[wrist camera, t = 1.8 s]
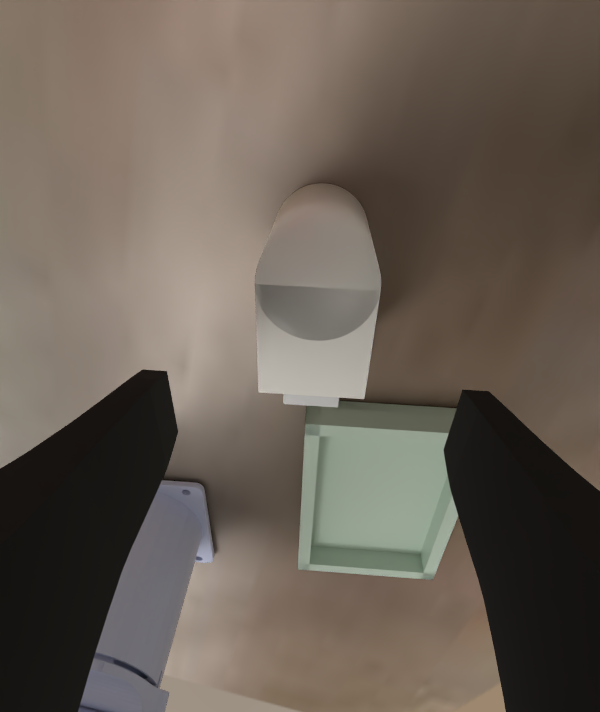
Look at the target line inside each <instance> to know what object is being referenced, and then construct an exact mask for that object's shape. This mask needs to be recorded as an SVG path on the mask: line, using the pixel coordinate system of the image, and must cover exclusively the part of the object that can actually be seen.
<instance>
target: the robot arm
mask: <svg viewBox="0 0 600 712" xmlns="http://www.w3.org/2000/svg"><path fill="white" fill-rule="evenodd" d="M177 434H178V429H177V424H176V418H175V413H174V407H173V402H172V397H171V391H170V386H169V381H168V375H167V371H155V370H141V371H140V372H139V373H137V374H136V375H134V376H133V377H131V378H130V379H129V380H127V381H126V382H125V383H123V384H122V385H121V386H119V387H118V388H117V389H116V390H114V391H113V392H112V393H110V394H109V395H108V396H106V397H105V398H104V399H102V400H101V401H100V402H98V403H97V404H96V405H94V406H93V407H92V408H90V409H89V410H88V411H86V412H85V413H83V414H82V415H81V416H79V417H78V418H77V419H75V420H74V421H73V422H71V423H70V424H68V425H67V426H65V427H64V428H62V429H61V430H59V431H58V432H56V433H55V434H54V435H52V436H51V437H49V438H48V439H46V440H45V441H43V442H42V443H40V444H39V445H37V446H36V447H34V448H33V449H31V450H30V451H28V452H27V453H25V454H24V455H22V456H21V457H19V458H17V459H16V460H14V461H12V462H11V463H9V464H8V465H6V466H4V467H2V468H1V469H0V712H165V708H166V705H167V701H168V697H169V692H168V691H165V690H162V689H159V688H160V684H161V681H162V677H163V674H164V670H165V667H166V663H167V659H168V656H169V652H170V649H171V645H172V642H173V638H174V634H175V631H176V627H177V624H178V620H179V617H180V613H181V609H182V606H183V602H184V599H185V595H186V592H187V588H188V584H189V581H190V577H191V574H192V570H193V567H194V563H195V562H202V563H210V562H212V561H213V559H214V548H213V542H212V535H211V528H210V522H209V515H208V509H207V502H206V495H205V489H204V487H203V486H202V485H201V484H199V483H195V482H181V481H167V480H162V479H163V477H164V474H165V472H166V470H167V467H168V464H169V461H170V458H171V454H172V451H173V448H174V444H175V441H176V437H177ZM444 457H445V463H446V469H447V475H448V480H449V485H450V490H451V493H452V497H453V500H454V503H455V506H456V510H457V513H458V516H459V519H460V523H461V526H462V529H463V532H464V535H465V538H466V542H467V545H468V548H469V551H470V554H471V557H472V561H473V564H474V567H475V570H476V573H477V577H478V580H479V583H480V587H481V591H482V595H483V598H484V602H485V607H486V612H487V616H488V621H489V626H490V631H491V635H492V640H493V645H494V650H495V655H496V660H497V666H498V671H499V676H500V681H501V687H502V691H503V696H504V703H505V709H506V712H600V491H599V490H597V489H596V488H595V487H594V486H593V485H591V484H590V483H589V482H588V481H587V480H585V479H584V478H583V477H582V476H581V475H579V474H578V473H577V472H576V471H575V470H574V469H572V468H571V467H570V466H569V465H568V464H567V463H566V462H564V461H563V460H562V459H561V458H560V457H559V456H558V455H557V454H555V453H554V452H553V451H552V450H551V449H550V448H549V447H548V446H547V445H546V444H544V443H543V442H542V441H541V440H540V439H539V438H538V437H537V436H536V435H535V434H534V433H533V432H532V431H530V430H529V429H528V428H527V427H526V426H525V425H524V424H523V423H522V422H521V421H520V420H519V419H518V418H517V417H516V416H515V415H514V414H513V413H512V412H510V411H509V410H508V409H507V408H506V407H505V406H504V405H503V404H502V403H501V402H500V401H499V400H498V399H497V398H495V397H494V396H493V395H492V394H491V393H490V392H489V391H473V390H462V393H461V397H460V400H459V403H458V406H457V409H456V412H455V415H454V418H453V421H452V425H451V428H450V431H449V434H448V437H447V440H446V443H445V446H444Z"/></svg>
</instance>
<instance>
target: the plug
mask: <svg viewBox="0 0 600 712" xmlns="http://www.w3.org/2000/svg"><path fill="white" fill-rule="evenodd" d="M380 292H381V274H380V269H379V265H378V261H377V257H376V253H375V249H374V245H373V241H372V237H371V233H370V229H369V225H368V221H367V217H366V214H365V211H364V209H363V207H362V205H361V204H360V203H359V201H358V200H357V199H356V198H355V197H354V196H353V195H352V194H351V193H350V192H348V191H347V190H345V189H343V188H341V187H339V186H336V185H333V184H327V183H316V184H311V185H307V186H304V187H302V188H300V189H298V190H297V191H295V192H294V193H292V194H291V195H290V196H289V197H288V198H287V199H286V200H285V201H284V203H283V204H282V206H281V207H280V209H279V211H278V214H277V216H276V219H275V221H274V224H273V227H272V229H271V232H270V234H269V237H268V239H267V242H266V245H265V247H264V250H263V252H262V255H261V258H260V260H259V263H258V266H257V269H256V275H255V303H256V333H257V364H258V392H260V393H276V394H284V395H283V404H291V405H307V406H323V407H338V403H339V398H355V399H364V398H365V391H366V384H367V378H368V371H369V365H370V358H371V352H372V345H373V338H374V332H375V325H376V319H377V312H378V306H379V299H380Z"/></svg>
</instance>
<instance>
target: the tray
mask: <svg viewBox="0 0 600 712" xmlns="http://www.w3.org/2000/svg"><path fill="white" fill-rule="evenodd" d="M456 409H457V408H444V407H429V406H413V405H397V404H381V403H365V402H350V401H339V403H338V407H323V406H307V407H306V421H305V439H304V459H303V478H302V498H301V517H300V537H299V557H298V569H300V570H312V571H325V572H338V573H351V574H364V575H377V576H390V577H403V578H416V579H429V580H433V578H434V575H435V573H436V570H437V568H438V565H439V563H440V560H441V558H442V555H443V553H444V550H445V548H446V545H447V543H448V540H449V538H450V535H451V533H452V530H453V528H454V525H455V523H456V520H457V518H458V513H457V510H456V506H455V503H454V500H453V497H452V493H451V490H450V485H449V480H448V475H447V469H446V463H445V457H444V446H445V443H446V440H447V437H448V434H449V431H450V428H451V425H452V421H453V418H454V415H455V412H456Z"/></svg>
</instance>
